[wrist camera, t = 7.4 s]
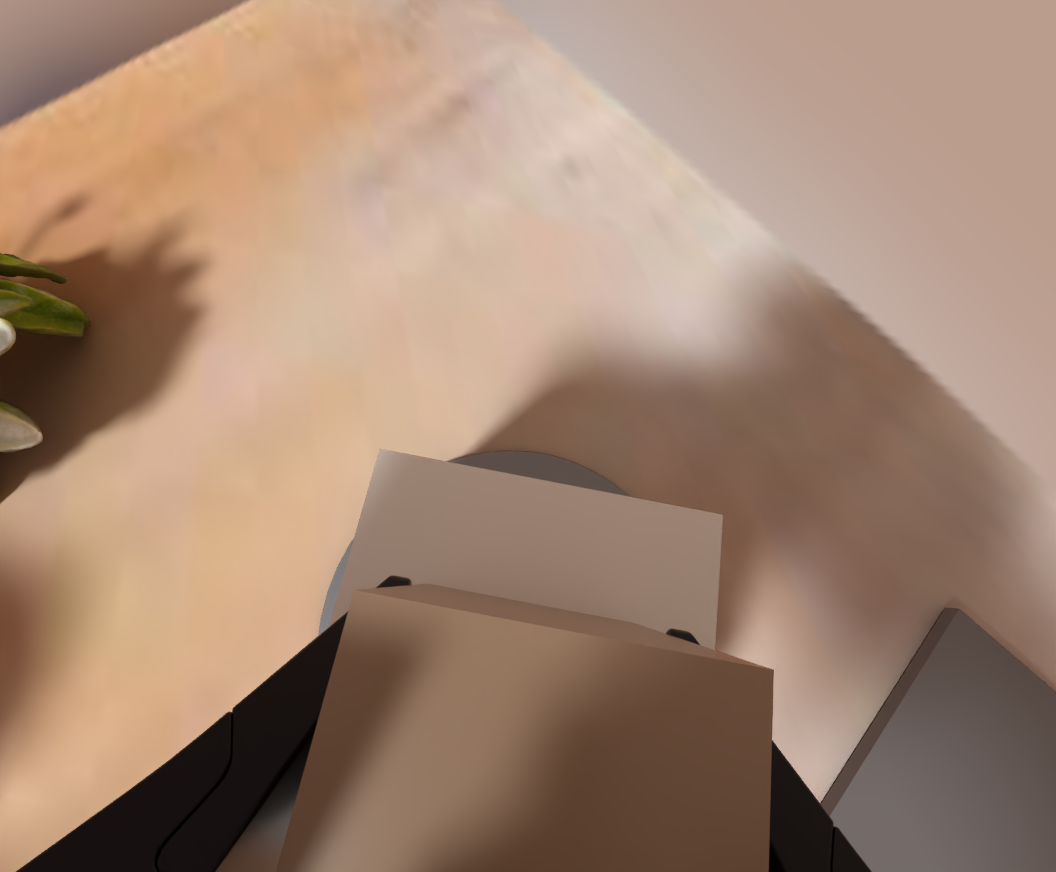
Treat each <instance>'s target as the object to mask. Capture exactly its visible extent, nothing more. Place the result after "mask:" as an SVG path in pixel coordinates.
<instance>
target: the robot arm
mask: <svg viewBox="0 0 1056 872" xmlns="http://www.w3.org/2000/svg"><path fill="white" fill-rule="evenodd" d="M410 585H412V582H411V580H410V579H409V578H406V577H400V576H395V575H392V576H389V577H388V578H386V579H385V580H384V581H383V582H382V583H380V584H379V585H378V586H377V587H376V588H383V587H395V586H410ZM347 614H348V611H347V612H346V613H345V614H344V615H343V616H341V617H340V618H339V619H338V620H337V621H335V622H334V623H333V624H332V625H331V626H330V627H328V628H327V629H326V630H325V631H324V632H322V633H321V634H320V635H319V636H318V637H317V638H315V639H314V640H313V641H312V642H311V643H309V644H308V645H307V646H306V647H305V648H303V649H302V650H301V651H300V652H299V653H298V654H296V655H295V656H294V657H293V658H292V659H290V660H289V661H288V662H287V663H286V664H285V665H283V666H282V667H281V668H280V669H279V670H277V671H276V672H275V673H274V674H273V675H271V676H270V677H269V678H268V679H267V680H266V681H264V682H263V683H262V684H261V685H260V686H258V687H257V688H256V689H255V690H254V691H253V692H251V693H250V694H249V695H248V696H247V697H245V698H244V699H243V700H242V701H241V702H239V703H238V704H237V705H236V706H235V707H234V708H233V710H232V712H227V713H226V714H225V715H224V716H223V717H221V718H220V719H219V720H218V721H217V722H215V723H214V724H213V725H212V726H211V727H210V728H208V729H207V730H206V731H205V732H204V733H202V734H201V735H200V736H199V737H197V738H196V739H195V740H194V741H192V742H191V743H190V744H189V745H187V746H186V747H185V748H184V749H183V750H181V751H180V752H179V753H178V754H176V755H175V756H174V757H173V758H171V759H170V760H169V761H167V762H166V763H165V764H163V765H162V766H161V767H159V768H158V769H157V770H155V771H154V772H153V773H151V774H150V775H149V776H147V777H146V778H145V779H143V780H142V781H141V782H139V783H138V784H137V785H135V786H134V787H133V788H131V789H130V790H128V791H127V792H126V793H124V794H123V795H122V796H120V797H119V798H117V799H116V800H115V801H113V802H112V803H110V804H109V805H108V806H106V807H105V808H104V809H102V810H101V811H99V812H98V813H97V814H95V815H94V816H92V817H91V818H90V819H88V820H87V821H85V822H84V823H83V824H81V825H80V826H79V827H77V828H76V829H74V830H73V831H72V832H70V833H69V834H67V835H66V836H65V837H63V838H62V839H60V840H59V841H58V842H56V843H55V844H53V845H52V846H51V847H49V848H48V849H47V850H45V851H44V852H42V853H41V854H40V855H38V856H37V857H35V858H34V859H33V860H31V861H30V862H28V863H27V864H26V865H24V866H23V867H22V868H20V869H19V870H17V871H16V872H276V869H277V866H278V862H279V859H280V855H281V851H282V848H283V844H284V841H285V837H286V833H287V830H288V826H289V823H290V819H291V815H292V812H293V808H294V805H295V801H296V797H297V794H298V790H299V787H300V783H301V779H302V776H303V772H304V769H305V765H306V761H307V758H308V754H309V751H310V747H311V743H312V740H313V736H314V733H315V729H316V725H317V722H318V718H319V715H320V711H321V707H322V704H323V700H324V697H325V693H326V689H327V686H328V682H329V679H330V675H331V671H332V668H333V664H334V661H335V657H336V653H337V650H338V646H339V643H340V639H341V635H342V632H343V628H344V625H345V621H346V617H347ZM666 634H668V635H671V636H674V637H677V638H680V639H683V640H686V641H689V642H692V643H695V644H698V645H700V644H699V642H698V641H697V640H696V638H695V637H694V636H693V635H692V634H691V633H690V632H688V631H683V630H678V629H673V628H672V629H669V630H668V631H667V632H666ZM769 872H872V871H871V870H870V868H869V867H868V866H867V865H866V863H865V862H864V861H863V860H862V858H861V857H860V856H859V854H858V853H857V852H856V850H855V849H854V848H853V846H852V845H851V844H850V842H849V841H848V840H847V838H846V837H845V836H844V835H843V833H842V832H841V831H840V829H839V828H838V827H836V826H834V822H833V820H832V819H831V818H830V816H829V815H828V814H827V812H826V811H825V810H824V808H823V807H822V806H821V804H820V803H819V802H818V800H817V799H816V798H815V796H814V795H813V794H812V792H811V791H810V790H809V788H808V787H807V786H806V784H805V783H804V782H803V780H802V779H801V778H800V776H799V775H798V774H797V772H796V771H795V770H794V768H793V767H792V766H791V764H790V763H789V762H788V760H787V759H786V758H785V757H784V755H783V754H782V753H781V751H780V750H779V749H778V747H777V746H776V745H775V743H774V742H773V741H772V757H771V797H770V838H769Z"/></svg>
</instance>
